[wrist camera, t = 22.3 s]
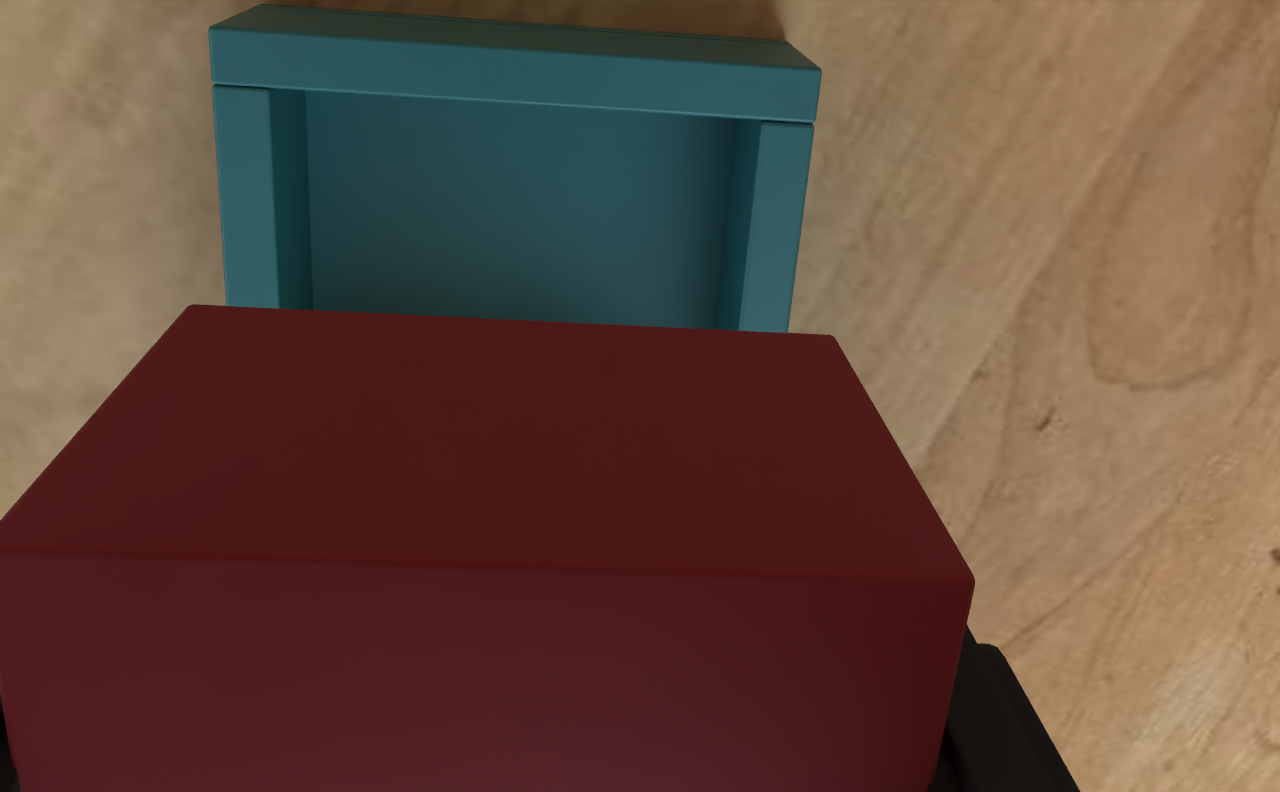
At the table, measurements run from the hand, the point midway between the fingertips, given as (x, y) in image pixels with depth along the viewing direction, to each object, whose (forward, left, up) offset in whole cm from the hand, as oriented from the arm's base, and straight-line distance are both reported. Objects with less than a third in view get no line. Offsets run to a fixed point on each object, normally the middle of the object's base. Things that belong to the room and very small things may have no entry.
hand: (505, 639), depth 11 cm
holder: (+3, 0, -11) cm, 12 cm away
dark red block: (0, 0, 0) cm, 0 cm away
